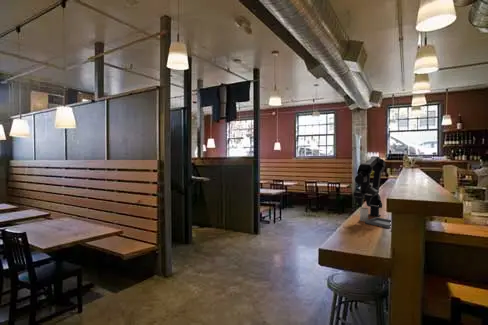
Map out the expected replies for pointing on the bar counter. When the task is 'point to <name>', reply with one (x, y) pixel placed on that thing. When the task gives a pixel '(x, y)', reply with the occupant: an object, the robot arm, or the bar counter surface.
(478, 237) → the bar counter surface
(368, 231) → the bar counter surface
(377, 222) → the tray
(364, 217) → the ceramic cup
